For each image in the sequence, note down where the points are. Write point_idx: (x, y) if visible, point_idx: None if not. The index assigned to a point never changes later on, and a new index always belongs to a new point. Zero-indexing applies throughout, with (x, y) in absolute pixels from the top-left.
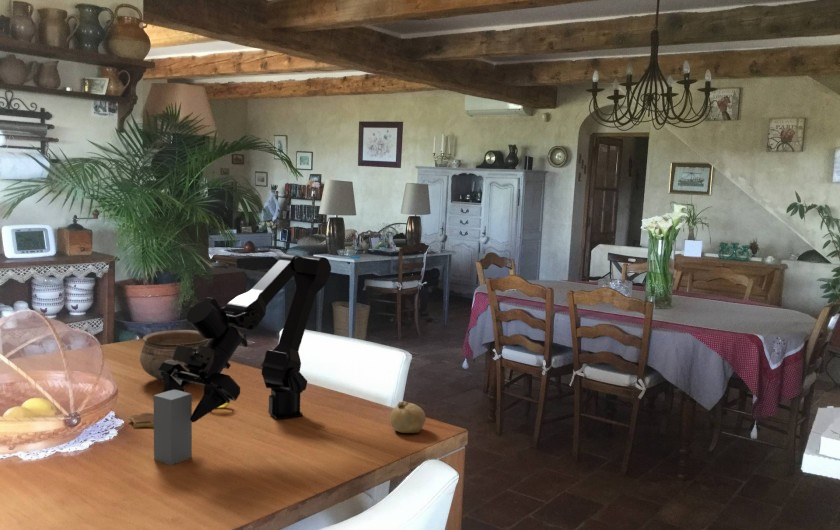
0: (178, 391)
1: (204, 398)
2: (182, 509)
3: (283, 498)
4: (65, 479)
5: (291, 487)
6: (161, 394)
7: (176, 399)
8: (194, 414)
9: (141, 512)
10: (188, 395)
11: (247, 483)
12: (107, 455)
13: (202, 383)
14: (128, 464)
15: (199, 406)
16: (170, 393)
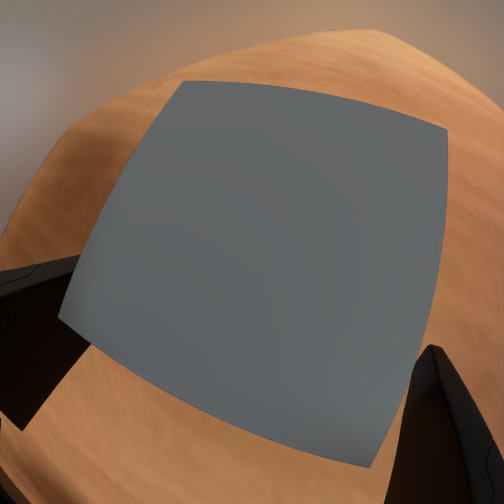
0: (242, 385)
1: (4, 278)
2: (154, 103)
3: (33, 197)
4: (447, 125)
5: (23, 235)
6: (397, 168)
7: (156, 132)
8: None
9: (214, 74)
10: (79, 275)
11: (71, 223)
12: (485, 268)
13: (8, 495)
14: None
15: (59, 263)
16: (314, 251)
